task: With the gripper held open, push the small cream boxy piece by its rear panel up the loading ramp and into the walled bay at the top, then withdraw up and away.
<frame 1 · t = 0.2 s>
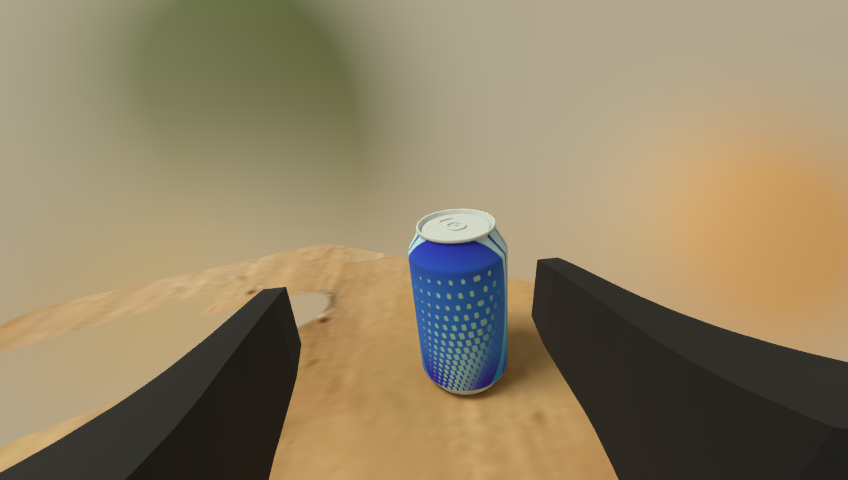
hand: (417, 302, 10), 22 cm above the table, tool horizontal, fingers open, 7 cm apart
beer can: (464, 368, 37), on the table
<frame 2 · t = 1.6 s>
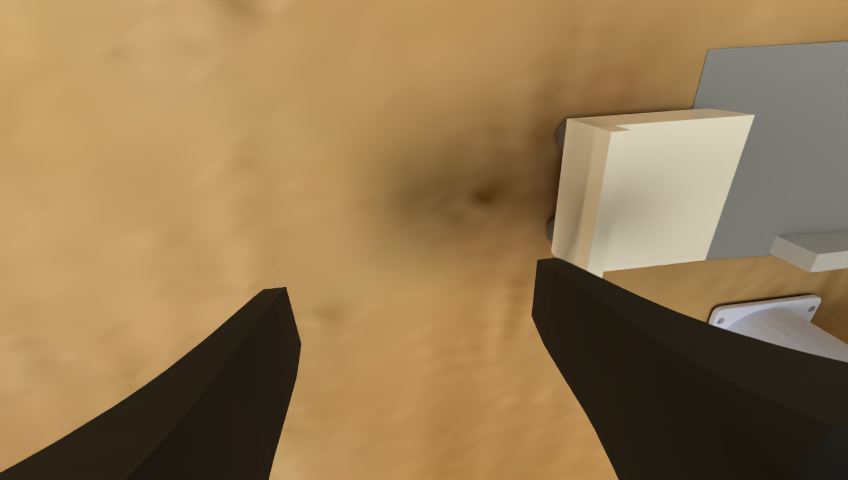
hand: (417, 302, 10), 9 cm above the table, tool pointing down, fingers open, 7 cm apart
cream boxy piece: (637, 192, 17), point 3 cm above the table, slide at 0.0 cm
dock: (827, 157, 21), on the table
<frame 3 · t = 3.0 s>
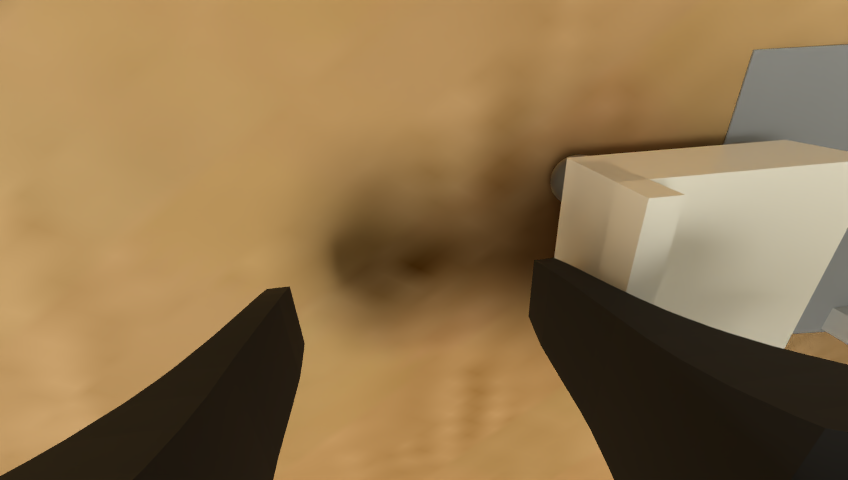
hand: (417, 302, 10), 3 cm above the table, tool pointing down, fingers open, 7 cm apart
cream boxy piece: (676, 267, 11), point 3 cm above the table, slide at 1.0 cm, touching gripper
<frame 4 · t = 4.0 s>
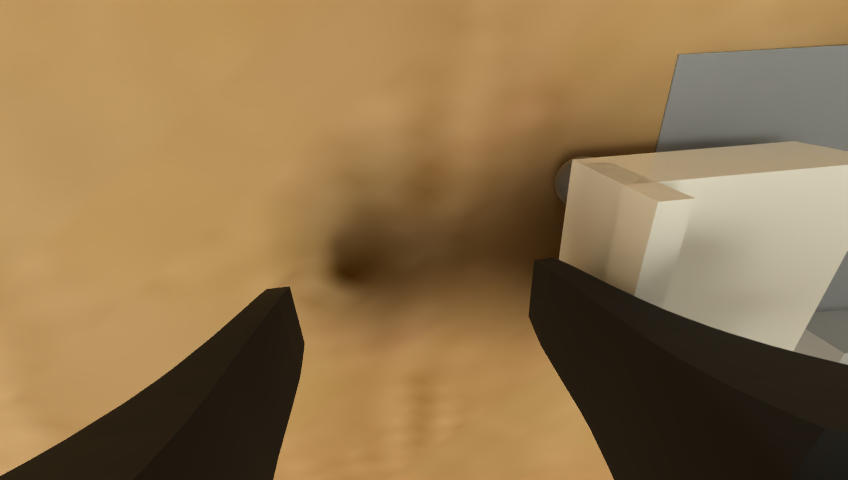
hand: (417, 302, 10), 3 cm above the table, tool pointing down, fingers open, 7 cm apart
cream boxy piece: (682, 271, 11), point 3 cm above the table, slide at 3.6 cm, touching gripper
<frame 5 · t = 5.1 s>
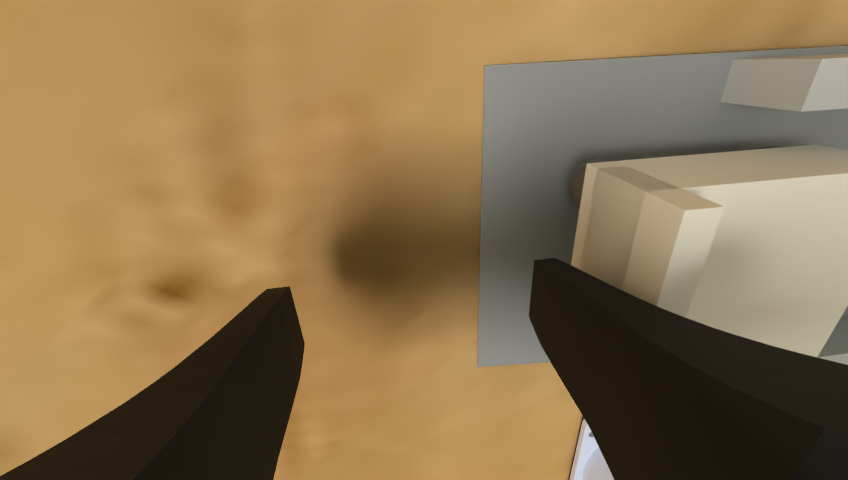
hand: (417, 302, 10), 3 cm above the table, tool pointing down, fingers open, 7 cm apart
cream boxy piece: (699, 279, 11), point 3 cm above the table, slide at 9.9 cm, touching gripper
dock: (716, 222, 14), on the table
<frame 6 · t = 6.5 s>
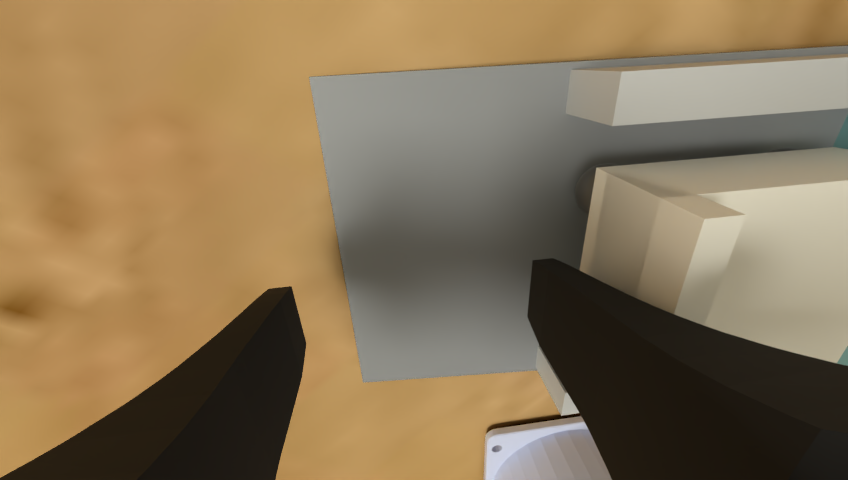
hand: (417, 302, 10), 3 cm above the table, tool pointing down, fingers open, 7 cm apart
cream boxy piece: (713, 286, 10), point 4 cm above the table, slide at 15.0 cm, touching gripper
dock: (593, 235, 14), on the table
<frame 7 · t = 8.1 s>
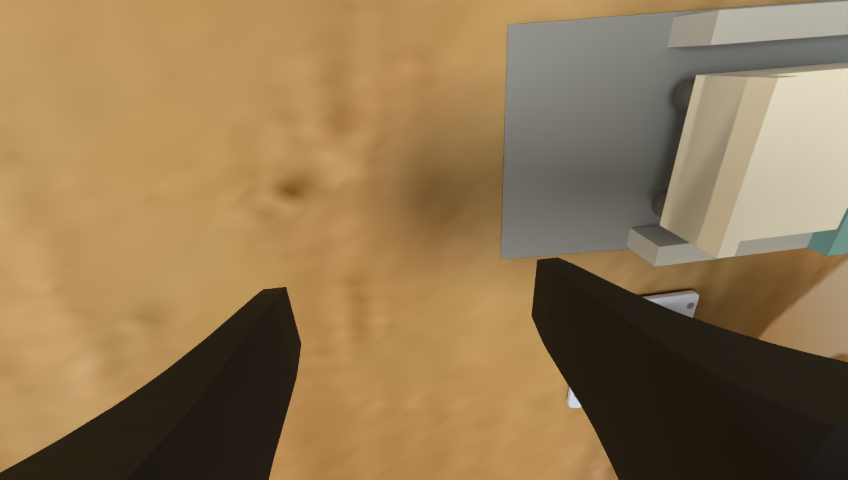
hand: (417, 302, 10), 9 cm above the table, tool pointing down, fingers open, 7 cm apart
cream boxy piece: (767, 155, 16), point 4 cm above the table, slide at 15.0 cm
dock: (674, 141, 19), on the table
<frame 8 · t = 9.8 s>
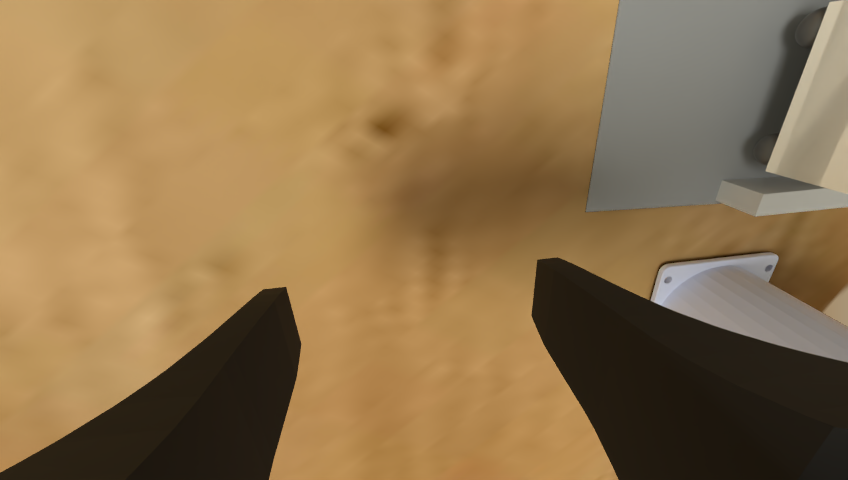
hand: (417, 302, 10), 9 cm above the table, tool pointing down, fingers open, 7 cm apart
dock: (775, 88, 19), on the table
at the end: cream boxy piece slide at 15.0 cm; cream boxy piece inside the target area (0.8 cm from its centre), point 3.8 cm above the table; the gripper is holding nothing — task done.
